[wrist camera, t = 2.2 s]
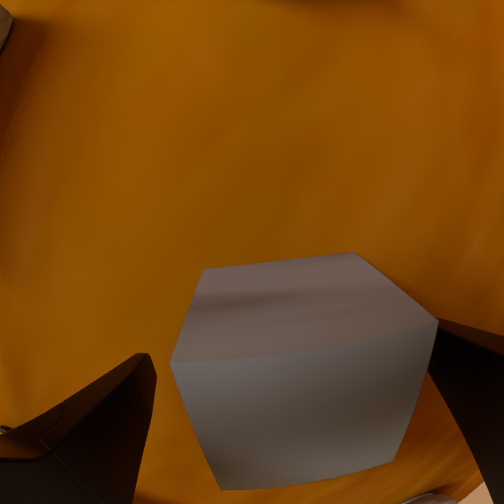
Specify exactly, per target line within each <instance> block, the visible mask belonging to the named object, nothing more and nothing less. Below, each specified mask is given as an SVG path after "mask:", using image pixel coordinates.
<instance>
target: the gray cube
mask: <svg viewBox="0 0 504 504" xmlns="http://www.w3.org/2000/svg"><path fill="white" fill-rule="evenodd" d="M438 323H439V321H438V320H437V319H436V318H435V317H433V316H432V315H431V314H430V313H429V312H428V311H426V310H425V309H424V308H423V307H422V306H421V305H419V304H418V303H417V302H416V301H415V300H413V299H412V298H411V297H410V296H409V295H407V294H406V293H405V292H404V291H403V290H401V289H400V288H399V287H398V286H397V285H395V284H394V283H393V282H392V281H390V280H389V279H388V278H387V277H385V276H384V275H383V274H382V273H380V272H379V271H378V270H377V269H375V268H374V267H373V266H372V265H370V264H369V263H368V262H366V261H365V260H364V259H363V258H361V257H360V256H359V255H357V254H356V253H355V252H350V253H342V254H334V255H325V256H317V257H309V258H300V259H292V260H283V261H275V262H266V263H257V264H248V265H239V266H230V267H221V268H212V269H204V270H203V273H202V276H201V278H200V281H199V283H198V286H197V289H196V291H195V294H194V296H193V299H192V302H191V304H190V307H189V310H188V313H187V315H186V318H185V321H184V323H183V326H182V329H181V332H180V334H179V337H178V340H177V343H176V346H175V348H174V351H173V354H172V357H171V360H170V366H171V369H172V372H173V375H174V378H175V381H176V384H177V386H178V389H179V392H180V395H181V398H182V400H183V403H184V406H185V409H186V411H187V414H188V416H189V419H190V422H191V424H192V427H193V429H194V432H195V434H196V436H197V439H198V441H199V444H200V446H201V448H202V451H203V453H204V455H205V457H206V460H207V462H208V464H209V466H210V468H211V470H212V473H213V475H214V477H215V479H216V481H217V483H218V485H219V487H220V489H221V490H249V489H263V488H274V487H283V486H290V485H297V484H304V483H310V482H315V481H321V480H326V479H331V478H335V477H339V476H344V475H348V474H352V473H356V472H359V471H363V470H366V469H370V468H373V467H376V466H379V465H383V464H386V463H389V462H392V461H393V459H394V457H395V455H396V453H397V451H398V448H399V446H400V444H401V442H402V439H403V437H404V435H405V432H406V430H407V427H408V425H409V422H410V420H411V417H412V414H413V412H414V409H415V406H416V403H417V400H418V398H419V395H420V391H421V388H422V385H423V382H424V379H425V375H426V372H427V368H428V365H429V361H430V357H431V353H432V349H433V345H434V341H435V337H436V332H437V327H438Z"/></svg>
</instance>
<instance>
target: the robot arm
mask: <svg viewBox="0 0 504 504" xmlns="http://www.w3.org/2000/svg"><path fill="white" fill-rule="evenodd" d="M435 318H436V319H437V320H438V321H439V323H438V327H437V332H436V337H435V341H434V345H433V349H432V353H431V357H430V361H429V365H428V368H427V370H428V372H429V374H430V376H431V378H432V380H433V382H434V383H435V385H436V387H437V388H438V390H439V392H440V394H441V395H442V397H443V399H444V401H445V402H446V404H447V406H448V408H449V410H450V411H451V413H452V415H453V417H454V419H455V421H456V423H457V424H458V426H459V428H460V430H461V432H462V434H463V436H464V438H465V440H466V442H467V444H468V446H469V448H470V450H471V452H472V454H473V456H474V459H475V461H476V463H477V465H478V468H479V470H480V472H481V474H482V477H483V479H484V481H485V484H486V486H487V488H488V490H489V493H490V496H491V498H492V501H493V503H494V504H504V336H501V335H497V334H494V333H490V332H487V331H483V330H479V329H476V328H472V327H469V326H465V325H462V324H458V323H455V322H451V321H447V320H444V319H440V318H437V317H435ZM156 381H157V375H156V371H155V368H154V365H153V363H152V360H151V357H150V355H149V354H148V353H137V354H135V355H133V356H132V357H130V358H129V359H127V360H126V361H124V362H123V363H121V364H120V365H118V366H117V367H115V368H114V369H112V370H111V371H109V372H108V373H106V374H104V375H103V376H101V377H100V378H98V379H97V380H95V381H94V382H92V383H91V384H89V385H88V386H86V387H84V388H83V389H81V390H80V391H78V392H77V393H75V394H74V395H72V396H70V397H69V398H67V399H66V400H64V401H63V402H61V403H59V404H58V405H56V406H55V407H53V408H51V409H50V410H48V411H46V412H45V413H43V414H41V415H39V416H38V417H36V418H34V419H32V420H30V421H28V422H26V423H24V424H22V425H20V426H18V427H16V428H14V429H10V428H7V427H5V426H3V425H1V426H0V431H1V433H2V434H1V435H0V504H132V503H133V497H134V492H135V488H136V483H137V478H138V473H139V469H140V464H141V460H142V456H143V451H144V447H145V443H146V439H147V434H148V430H149V426H150V422H151V418H152V412H153V404H154V396H155V389H156Z"/></svg>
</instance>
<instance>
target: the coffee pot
mask: <svg viewBox="0 0 504 504" xmlns="http://www.w3.org/2000/svg"><path fill="white" fill-rule="evenodd" d="M401 504H456V500H455V499H454V498H452V497H450V496H448V495H443V494H438V495H433V493H426V494H423V495H420V496H418V497H415V498H413V499H410V500H408V501H406V502H403V503H401Z"/></svg>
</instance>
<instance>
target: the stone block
mask: <svg viewBox="0 0 504 504" xmlns="http://www.w3.org/2000/svg"><path fill="white" fill-rule="evenodd" d="M12 21H13V17H12V15H11V14H10V13H9V12H8V11H7V10H6V9H5V8H4V7H3V6H2V5H1V4H0V50H1V48H2V46H3V44H4V42H5V40H6V37H7V35H8V33H9V30H10V26H11V23H12Z"/></svg>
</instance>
